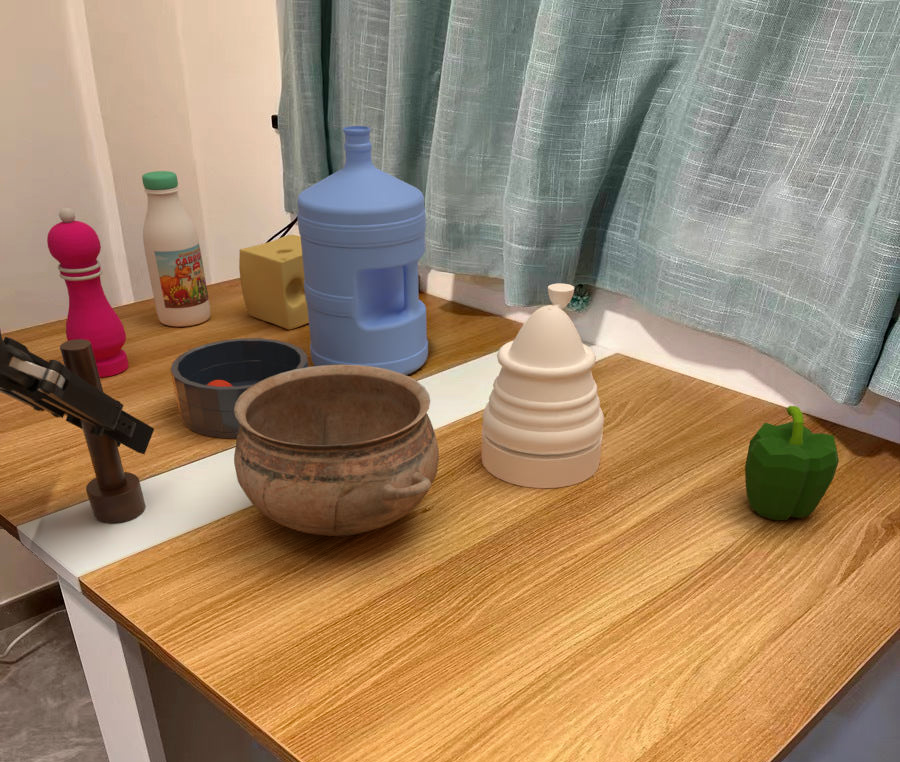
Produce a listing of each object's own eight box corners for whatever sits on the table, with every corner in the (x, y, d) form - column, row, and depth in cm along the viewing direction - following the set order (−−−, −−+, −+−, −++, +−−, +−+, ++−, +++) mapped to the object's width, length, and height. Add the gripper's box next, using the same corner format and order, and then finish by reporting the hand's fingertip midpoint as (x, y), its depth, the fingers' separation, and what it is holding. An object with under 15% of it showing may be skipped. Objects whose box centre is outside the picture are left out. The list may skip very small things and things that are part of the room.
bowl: (174, 443, 100) (164, 393, 96) (186, 387, 112) (177, 341, 109) (314, 434, 102) (309, 384, 98) (310, 380, 114) (305, 334, 111)
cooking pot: (194, 502, 89) (171, 387, 82) (346, 445, 99) (338, 339, 92) (338, 615, 74) (326, 487, 67) (501, 535, 84) (505, 416, 77)
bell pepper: (821, 538, 84) (849, 441, 78) (732, 522, 86) (753, 427, 80) (824, 496, 90) (850, 404, 84) (740, 482, 92) (760, 392, 86)
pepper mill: (63, 374, 116) (19, 211, 104) (100, 355, 121) (62, 198, 109) (108, 382, 114) (68, 217, 102) (144, 362, 119) (109, 203, 107)
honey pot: (521, 423, 104) (528, 265, 93) (620, 452, 98) (640, 287, 87) (458, 465, 95) (458, 297, 85) (562, 500, 89) (577, 324, 79)
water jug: (289, 373, 116) (262, 134, 99) (346, 334, 127) (330, 114, 111) (397, 392, 111) (387, 144, 94) (446, 349, 123) (445, 122, 106)
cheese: (342, 314, 134) (337, 245, 128) (286, 333, 128) (278, 261, 122) (299, 299, 140) (292, 232, 134) (243, 316, 134) (233, 247, 128)
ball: (193, 381, 103) (196, 415, 102) (218, 371, 101) (222, 405, 100) (217, 389, 106) (221, 422, 106) (242, 380, 104) (246, 413, 104)
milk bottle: (149, 326, 130) (119, 178, 118) (171, 309, 136) (144, 167, 124) (199, 329, 129) (173, 180, 117) (219, 311, 135) (196, 168, 123)
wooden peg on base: (88, 524, 86) (37, 356, 76) (99, 498, 90) (53, 335, 80) (140, 522, 86) (97, 354, 76) (150, 496, 90) (110, 333, 80)
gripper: (-163, 350, 68) (63, 455, 90) (-25, 388, 62) (181, 491, 84) (-126, 261, 69) (89, 387, 90) (14, 290, 63) (209, 417, 84)
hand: (133, 437), depth 87 cm, fingers closed on wooden peg on base, 3 cm apart
